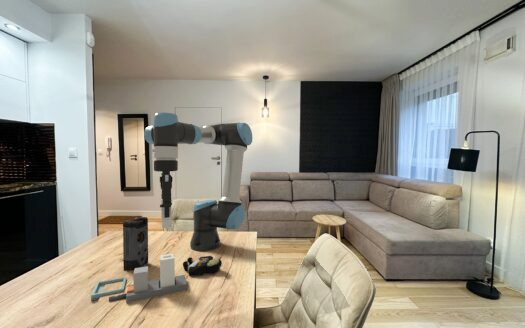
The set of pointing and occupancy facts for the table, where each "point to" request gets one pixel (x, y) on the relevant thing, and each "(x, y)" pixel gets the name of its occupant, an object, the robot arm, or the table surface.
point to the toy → (202, 265)
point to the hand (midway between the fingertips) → (166, 222)
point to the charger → (167, 270)
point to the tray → (99, 288)
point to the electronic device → (135, 243)
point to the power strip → (149, 287)
